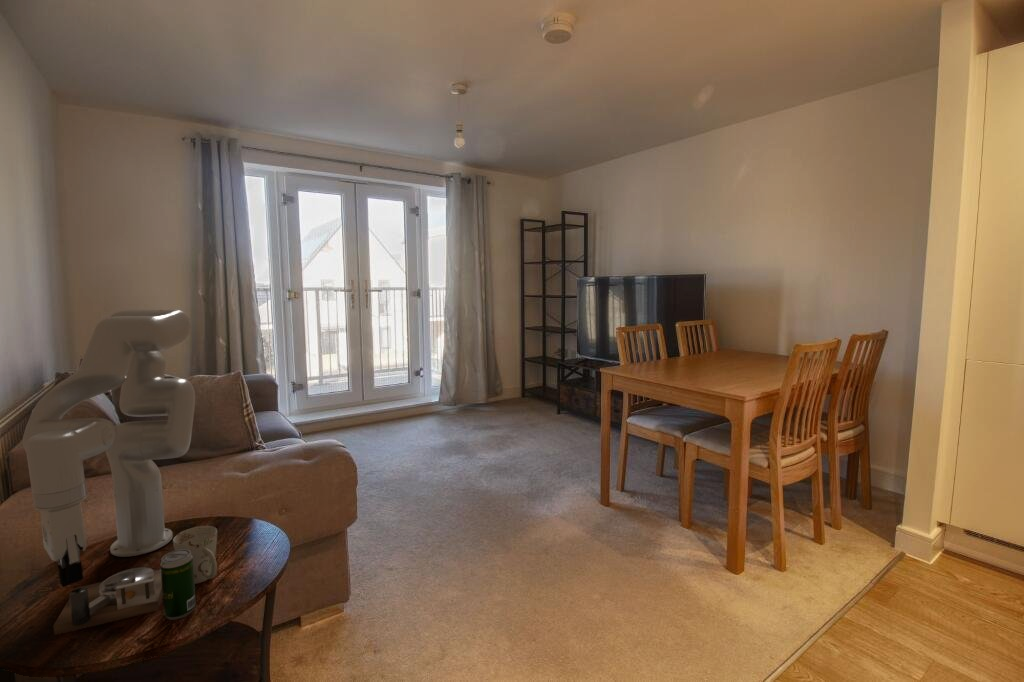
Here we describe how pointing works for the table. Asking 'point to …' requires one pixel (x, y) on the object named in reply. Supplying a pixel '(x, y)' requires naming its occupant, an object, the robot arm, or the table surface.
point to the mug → (200, 550)
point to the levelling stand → (129, 604)
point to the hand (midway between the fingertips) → (71, 581)
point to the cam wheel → (103, 593)
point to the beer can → (178, 584)
